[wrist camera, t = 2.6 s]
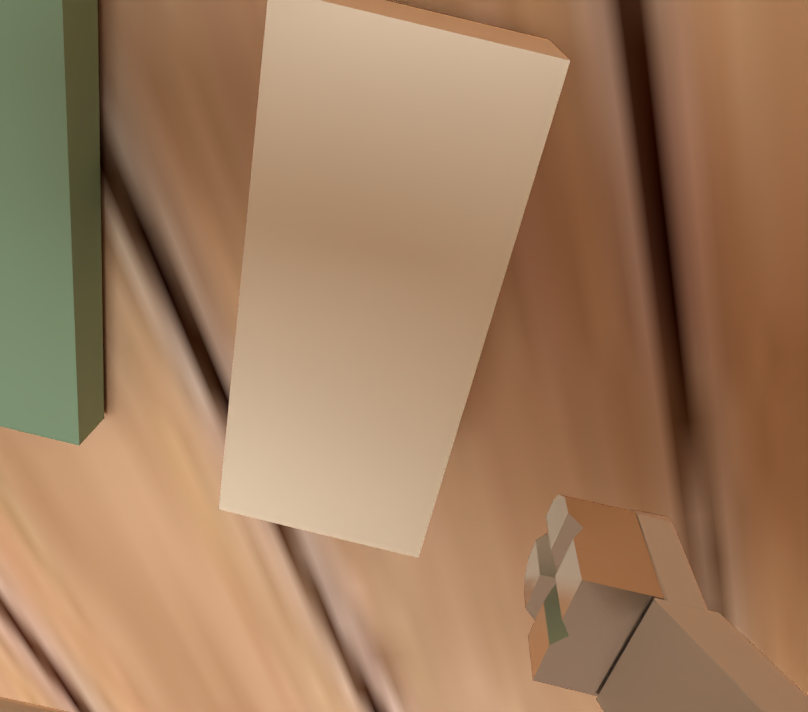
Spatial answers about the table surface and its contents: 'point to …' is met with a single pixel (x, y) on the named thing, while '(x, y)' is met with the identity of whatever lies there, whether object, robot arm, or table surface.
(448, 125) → the housing
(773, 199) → the table surface
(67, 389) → the header board
